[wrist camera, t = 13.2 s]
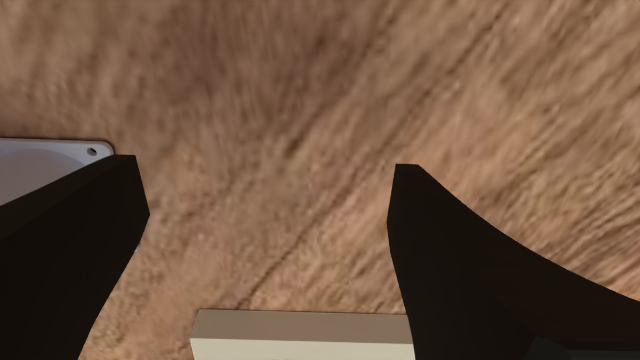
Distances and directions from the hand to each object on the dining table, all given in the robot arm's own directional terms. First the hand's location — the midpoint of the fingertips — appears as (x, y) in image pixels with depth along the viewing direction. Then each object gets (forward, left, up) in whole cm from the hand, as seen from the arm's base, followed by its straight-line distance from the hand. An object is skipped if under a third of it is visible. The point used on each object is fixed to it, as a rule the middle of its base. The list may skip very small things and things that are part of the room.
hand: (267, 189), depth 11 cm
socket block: (+2, -24, -10) cm, 26 cm away
